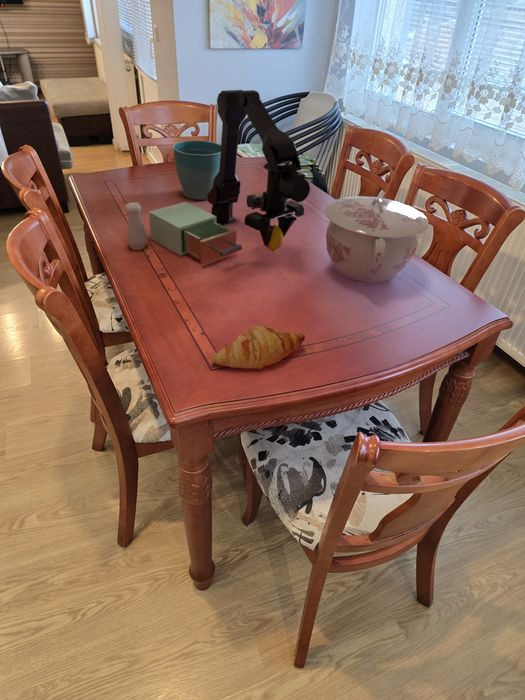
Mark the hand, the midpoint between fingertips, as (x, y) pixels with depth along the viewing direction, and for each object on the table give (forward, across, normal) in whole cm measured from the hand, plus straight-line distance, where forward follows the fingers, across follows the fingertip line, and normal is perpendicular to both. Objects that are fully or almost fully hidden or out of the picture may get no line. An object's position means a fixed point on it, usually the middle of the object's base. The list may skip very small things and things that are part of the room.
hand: (273, 243), depth 135 cm
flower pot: (+5, -15, -52) cm, 54 cm away
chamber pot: (+4, -14, +23) cm, 27 cm away
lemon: (+3, 0, 0) cm, 3 cm away
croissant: (+4, +36, +31) cm, 48 cm away
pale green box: (+4, +14, -24) cm, 28 cm away
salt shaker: (+4, +27, -29) cm, 40 cm away
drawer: (+3, +14, -11) cm, 18 cm away
